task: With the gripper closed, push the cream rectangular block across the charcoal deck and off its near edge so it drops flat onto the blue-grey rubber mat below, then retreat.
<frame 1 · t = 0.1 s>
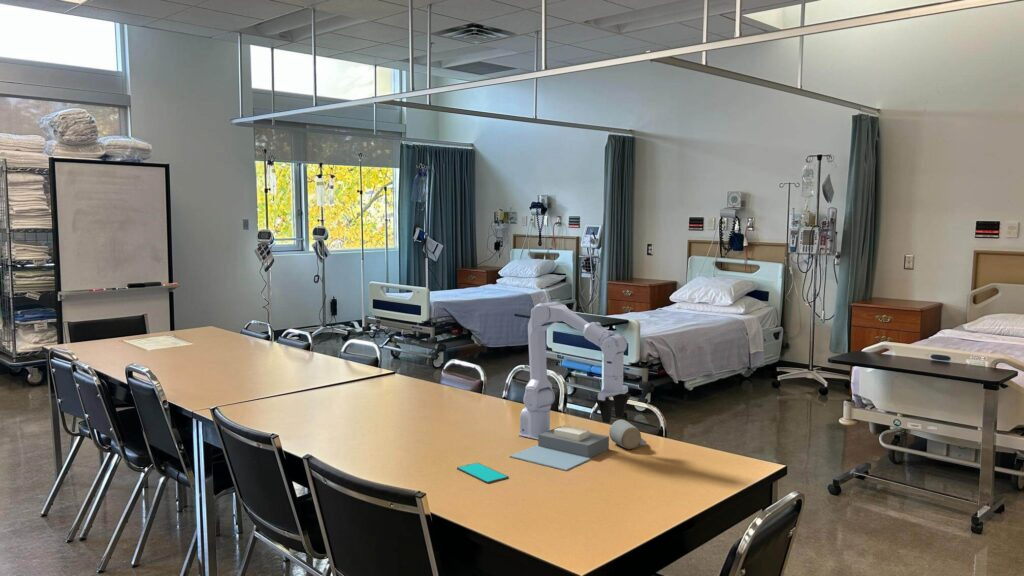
hand: (612, 419, 224), 10 cm above the table, fingers open, 7 cm apart
smartphone: (482, 475, 205), on the table
mat: (550, 458, 219), on the table
deck: (573, 448, 229), on the table
ceramic mug: (628, 446, 232), on the table
cream rectangular block: (571, 436, 228), point 4 cm above the table, touching deck
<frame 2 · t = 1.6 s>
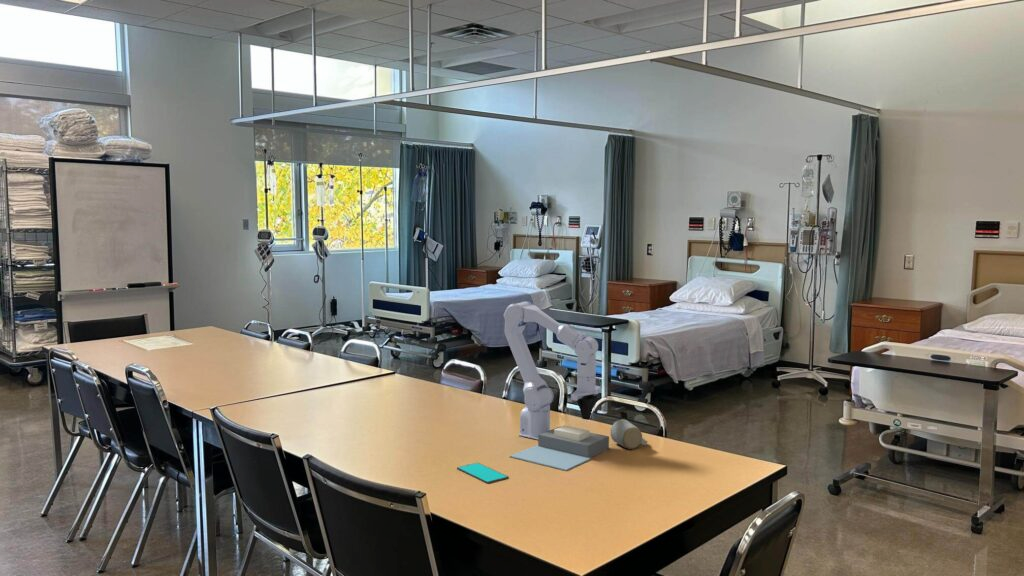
hand: (586, 418, 233), 8 cm above the table, fingers closed
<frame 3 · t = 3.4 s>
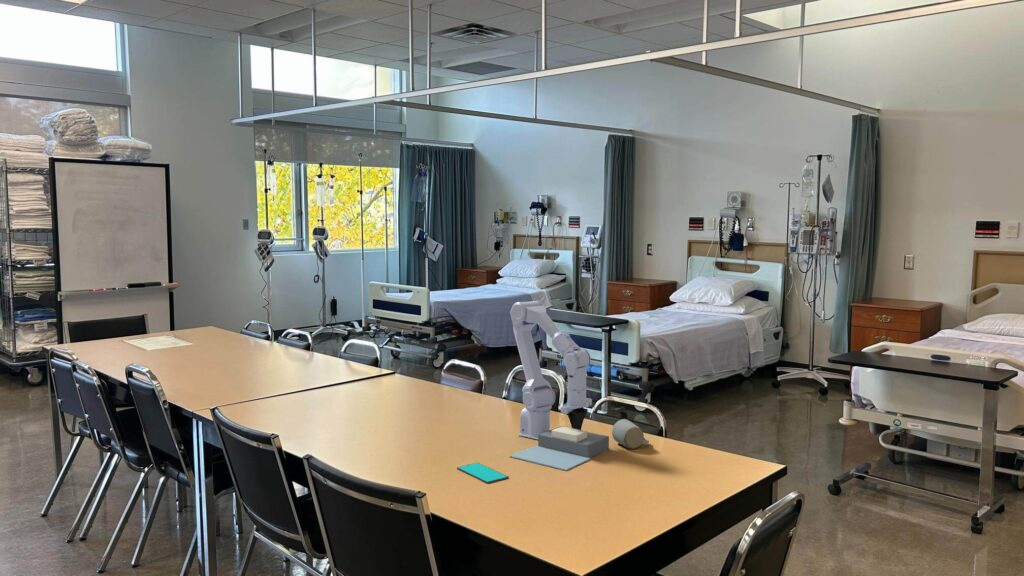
hand: (576, 432, 230), 5 cm above the table, fingers closed
cream rectangular block: (569, 437, 226), point 4 cm above the table, touching gripper
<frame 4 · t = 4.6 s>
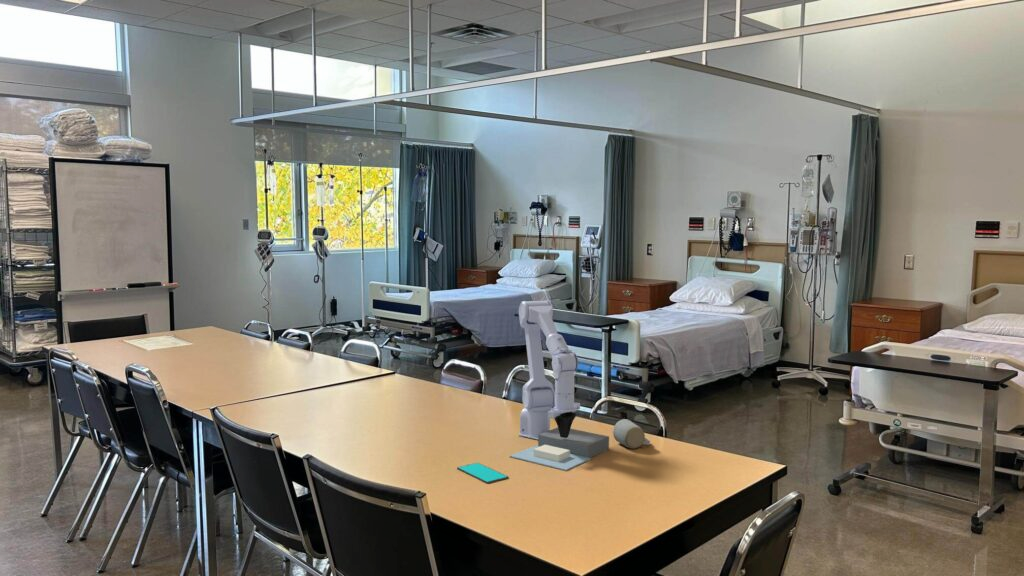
hand: (564, 437, 224), 5 cm above the table, fingers closed
cream rectangular block: (551, 449, 219), point 2 cm above the table, tilted 180°, touching mat
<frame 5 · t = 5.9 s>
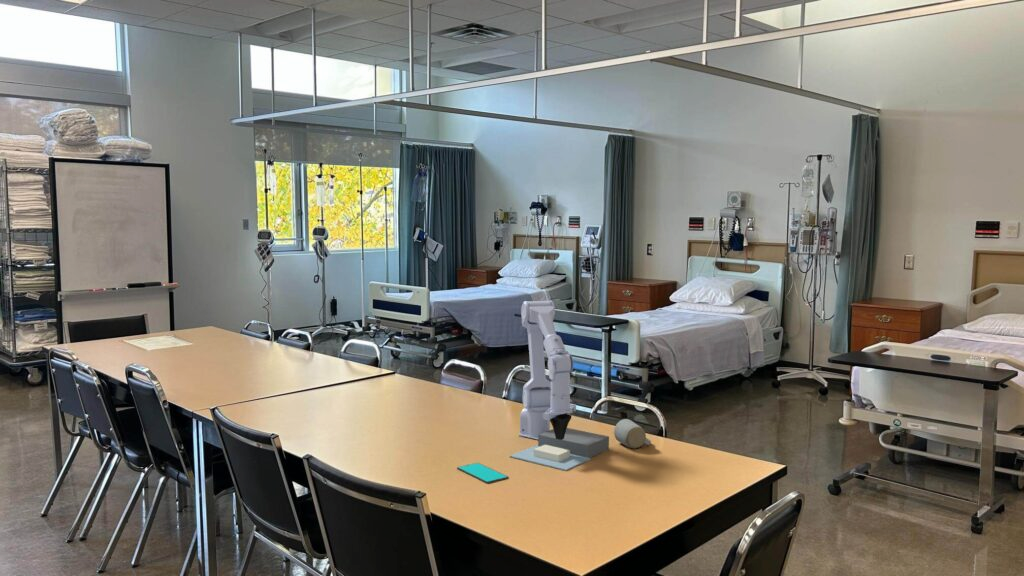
hand: (559, 438, 222), 5 cm above the table, fingers closed
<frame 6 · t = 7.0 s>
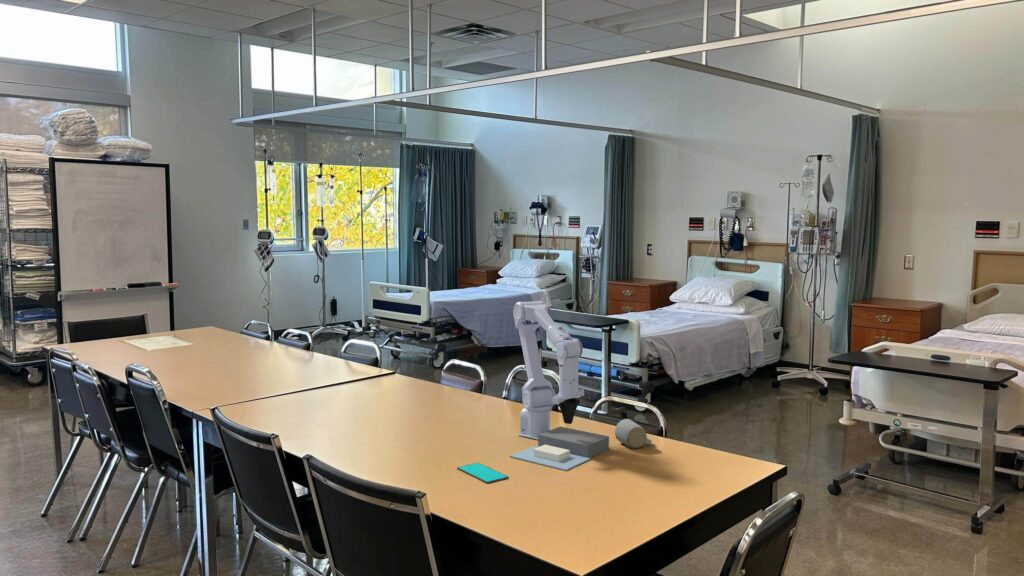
hand: (568, 423, 226), 9 cm above the table, fingers closed
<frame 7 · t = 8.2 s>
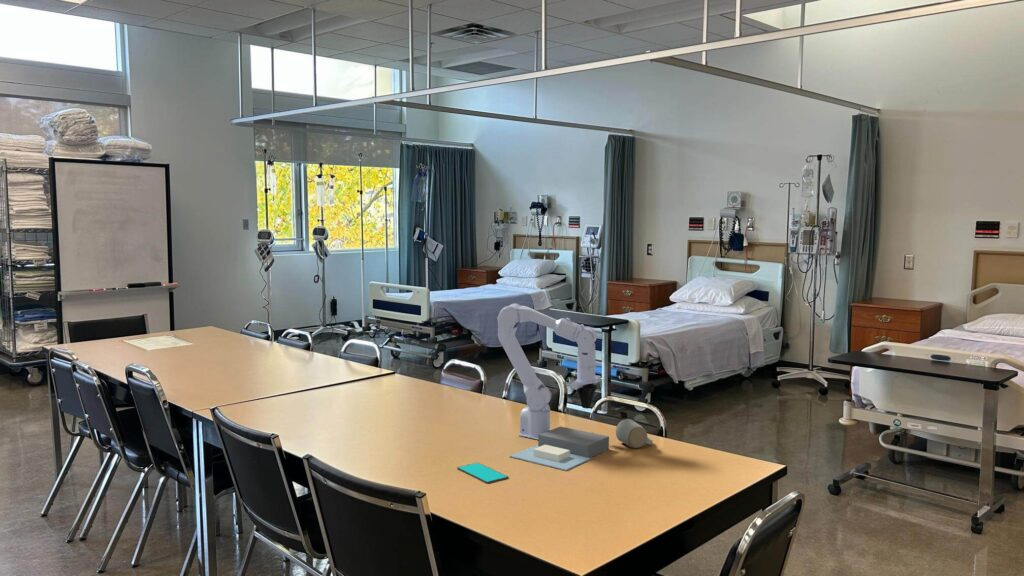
hand: (586, 407, 237), 10 cm above the table, fingers closed
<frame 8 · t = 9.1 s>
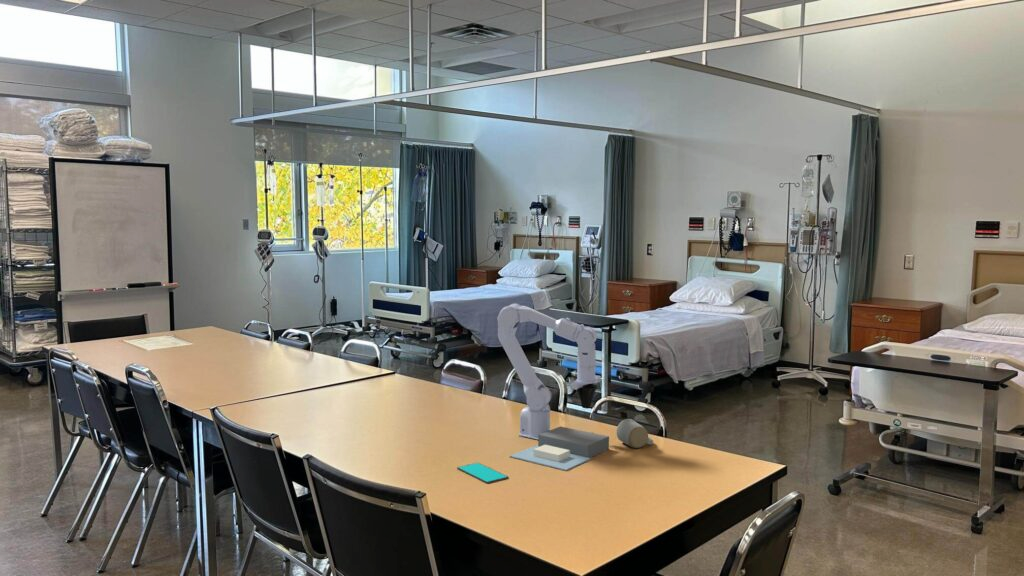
hand: (586, 407, 237), 10 cm above the table, fingers closed
at the end: cream rectangular block point 2.4 cm above the table; cream rectangular block inside the target area on the mat (0.7 cm from its centre), point 2.4 cm above the mat's base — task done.
